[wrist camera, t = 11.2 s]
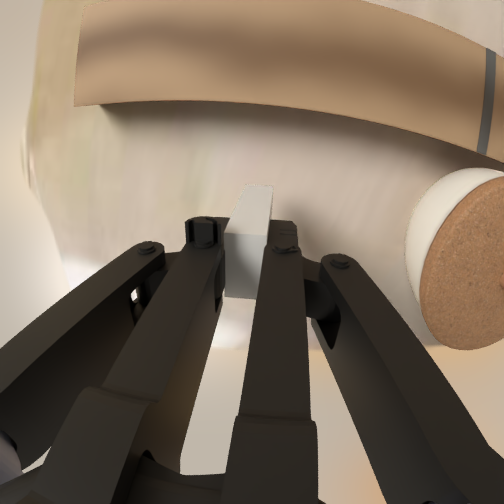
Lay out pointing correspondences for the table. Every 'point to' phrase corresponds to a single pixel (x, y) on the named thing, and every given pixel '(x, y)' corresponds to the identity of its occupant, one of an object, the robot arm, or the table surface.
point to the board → (296, 63)
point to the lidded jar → (460, 257)
